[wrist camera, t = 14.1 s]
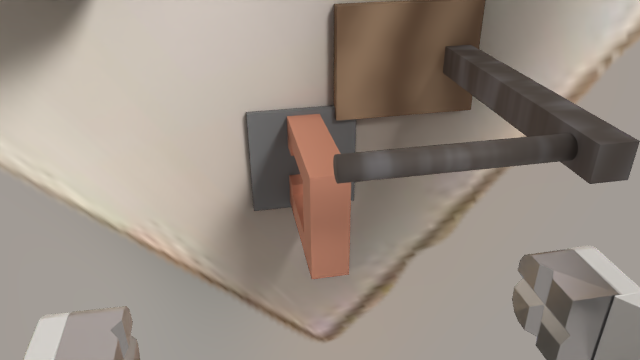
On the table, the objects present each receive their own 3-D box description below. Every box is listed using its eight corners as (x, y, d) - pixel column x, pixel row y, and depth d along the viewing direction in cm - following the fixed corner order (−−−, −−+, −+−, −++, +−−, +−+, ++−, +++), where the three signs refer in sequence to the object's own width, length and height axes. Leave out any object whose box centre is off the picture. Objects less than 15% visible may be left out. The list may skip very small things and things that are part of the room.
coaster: (354, 103, 49) (356, 106, 49) (352, 197, 54) (353, 200, 53) (246, 112, 48) (246, 114, 47) (253, 207, 52) (254, 210, 52)
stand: (479, -3, 47) (674, 72, 27) (465, 105, 51) (622, 233, 32) (284, 6, 44) (348, 96, 25) (288, 119, 49) (345, 269, 29)
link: (319, 113, 48) (351, 174, 38) (320, 199, 53) (349, 274, 42) (286, 116, 48) (309, 178, 38) (290, 202, 52) (311, 279, 42)
